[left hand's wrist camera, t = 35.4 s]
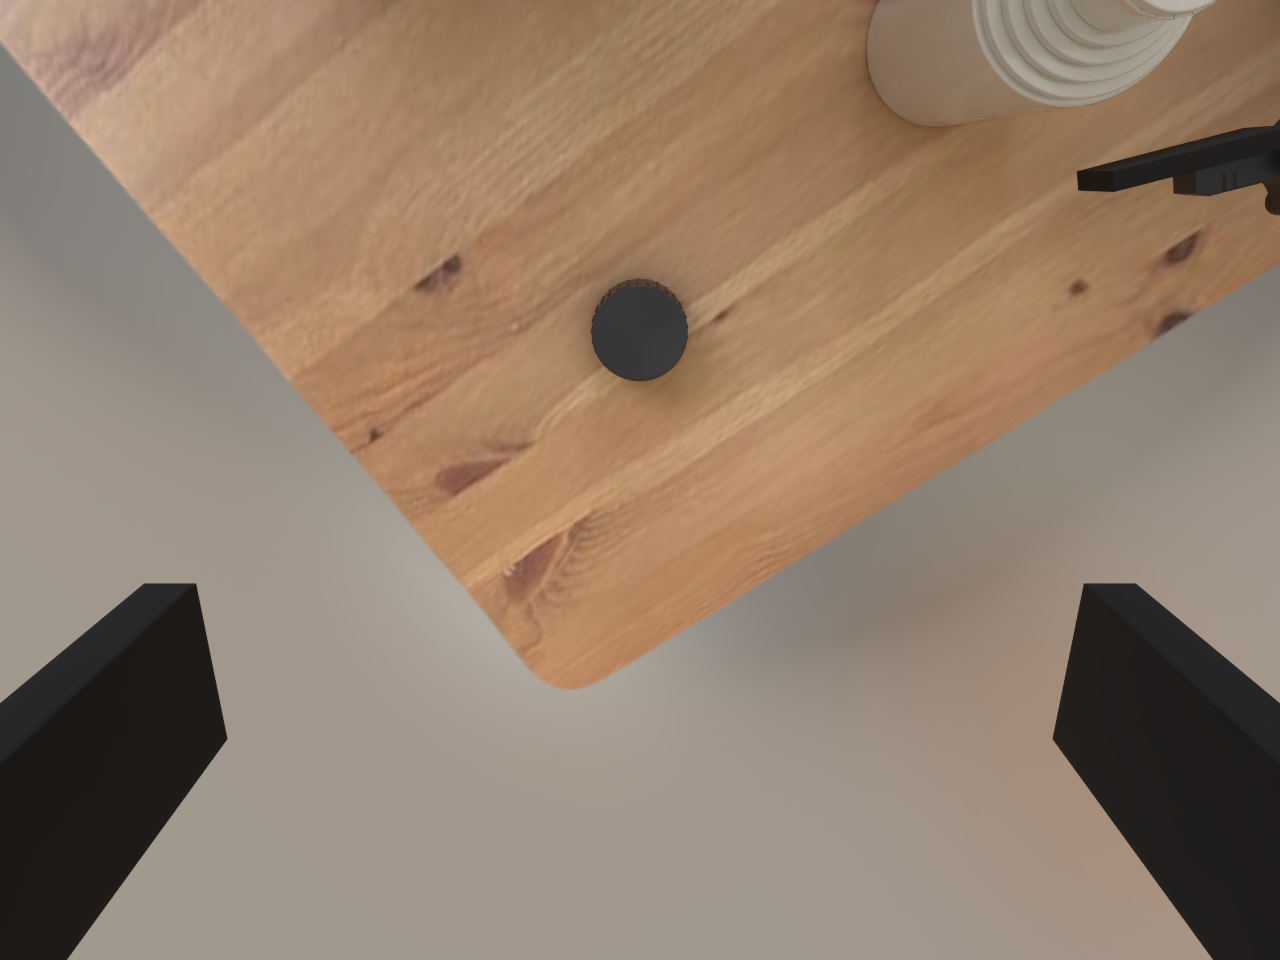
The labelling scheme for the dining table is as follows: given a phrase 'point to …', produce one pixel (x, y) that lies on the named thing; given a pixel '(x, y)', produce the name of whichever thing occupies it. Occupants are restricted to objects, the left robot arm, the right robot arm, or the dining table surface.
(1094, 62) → the bottle
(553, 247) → the dining table surface
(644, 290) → the cap
